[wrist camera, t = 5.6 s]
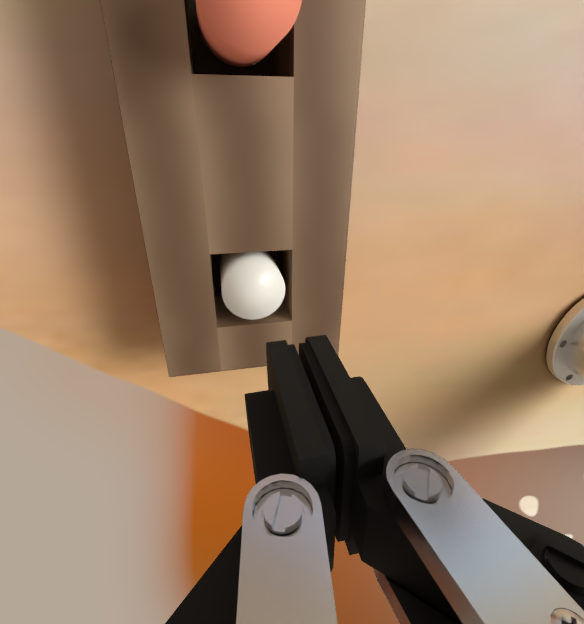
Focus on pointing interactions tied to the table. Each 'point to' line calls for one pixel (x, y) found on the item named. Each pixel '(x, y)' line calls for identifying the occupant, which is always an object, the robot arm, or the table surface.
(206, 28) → the red plug
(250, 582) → the robot arm
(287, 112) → the plug block
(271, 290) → the white plug
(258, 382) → the table surface
